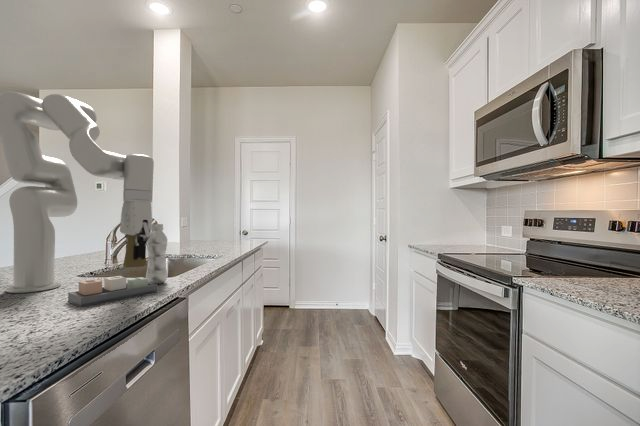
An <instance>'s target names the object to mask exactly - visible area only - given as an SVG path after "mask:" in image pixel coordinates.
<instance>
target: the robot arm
mask: <svg viewBox="0 0 640 426" xmlns="http://www.w3.org/2000/svg"><path fill="white" fill-rule="evenodd" d="M96 122H97V114H96V111H95V110H94V108H92V107H91V106H90V105H88V104H86V103H84V102H82V101H79V100H77V99H75V98H72V97H70V96H66V95H64V94H60V93H53V94H49V95H46V96H44V98H43V99H40V98H38V97H35V96H32V95H29V94H26V93H23V92H18V91H9V90H7V91H4V92H0V141H1V144H2V145H1V146H2V150H3V153H4V156H5V161H6V165H7V170H8V171H9V176H10V177H11V178H12V179H13V180H14V181H16V182H18V183H23V184H28V186H22V187H18V188H17V189H15V190H14V191H12V193H11V194H10V195H9V200H8V201H9V209H10V213H11V216H12V223H13V225H12V226H13V266H12V267H13V271H12V272H13V273H12V275H13V276H12V278H13V280H12V282H13V283H12V284H10V285H8V286H7V287H5V291H6V293H11V294H22V293H24V294H25V293H34V292H41V291H48V290H53V289H56V288H59V287H60V286H61V285H62V284H61V283H62V282H61V281H60V280H55V276H56V275H55V274H56V273H55V272H56V271H55V269H56V268H55V267H56V256H55V255H56V229H55V227H54V225H53V223H52V221H51V219H50V218H60V217H61V218H63V217H64V218H65V217H69V216H72V214H74V213H75V211H77V208H78V197H77V192H76V187H75V184H74V180H73V176H72V172H71V170H70V168H69V166H68V164H67V163H66V162H64V161H63V160H61V159H59V158H56V157H52V156H48V155H47V156H45V155H44V154H43V152H42V150H41V147H40V141H39V139H38V138H37V136H36V135H35V133H34V131H33V130H31V128H30V127H29V126H28V125H27V124H29V125H32V126H35V127H39V128H44V129H47V130H53V131H60V132H62V134H64V135H65V136H66V138H68V140H69V141H68V147H69V151H70V154H71V155H72V157H73V159H74V160H75V161H76V162H77V164H79V165H80V166H81V167H82V168H83V169H84V170H85V171H87V173H89V174H90V175H92V176H94V177H99V178H105V179H106V178H107V179H111V180H118V181H123V191H122V193H123V196H122V201H123V203H122V207H121V213H120V214H121V215H120V226H119V232H120V233H121V234H122V235H124V238H125V249H126V248H127V243H128V239H127V237H126V234H128V235H133V236H134V235H135V245H136V246H134V252H133V259H134V260H137V259H138V258H139V257H141V258H142V259H145V257H146V255H147V253H146V252H147V240H148V239H149V238H150V233H151V232H152V230H151V227H152V223H153V220H152V218H153V216H152V215H153V214H152V212H153V211H152V203H153V191H154V190H153V189H154V188H153V187H154V185H153V184H154V167H155V166H154V165H155V164H154V159H153V157H151V156H149V155H145V154H140V153H139V154H137V153H131V154H130V153H129V154H127V155H123V154H119V153H116V152H111V151H107V150H103V149H102V148H101V147H100V146H99V145H98V144H97V143H96V142H95V141H96V140H97V139H98V138H99V136H100V134H101V129H100V127H99V126H98V125H97V123H96ZM29 184H30V185H29ZM31 185H33V186H31ZM35 185H37V186H35ZM38 185H39V186H38ZM138 233H143V235H138ZM139 237H140V239H139ZM146 258H147V257H146Z"/></svg>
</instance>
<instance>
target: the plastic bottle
mask: <svg viewBox="0 0 640 426" xmlns="http://www.w3.org/2000/svg"><path fill="white" fill-rule="evenodd" d="M163 230H164V224H162V223H161V224H160V223H156V224H155V223H153V224H152V227H151V233H150V238H149V239H148V240H147V245H146V251H147V265H146V266H147V267H146V273H145V278H147V279H148V282H149V283H153V284H157V285H161V284H163V283H166V281H167V278H168V271H167V265H166V264H167V263H166V254H167V246H168V238H167V235H166V234H165V232H164V231H163Z"/></svg>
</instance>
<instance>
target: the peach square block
mask: <svg viewBox="0 0 640 426" xmlns="http://www.w3.org/2000/svg"><path fill="white" fill-rule="evenodd" d="M102 287H103V280H100V279H96V278H95V279H88V280H81V281H80V280H79V281H78V291H79V293H80V294H82V295H89V294H95V293H101V292H102Z"/></svg>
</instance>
